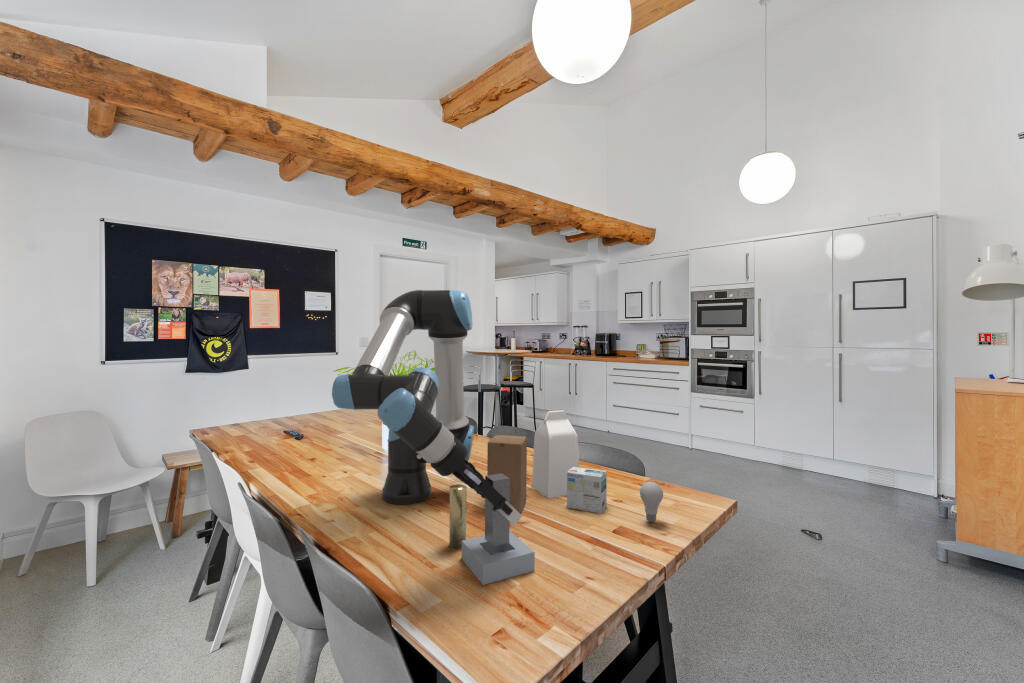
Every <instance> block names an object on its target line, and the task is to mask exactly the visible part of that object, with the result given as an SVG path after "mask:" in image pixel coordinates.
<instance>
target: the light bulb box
mask: <svg viewBox="0 0 1024 683" xmlns="http://www.w3.org/2000/svg"><path fill="white" fill-rule="evenodd" d="M607 501H608V500H607V470H601V469H595V468H594V469H593V468H583V467H579V468H578V467H572V468H571V469H570V470H569V471H568V472H567V495H566V508H567V509H575V510H579V511H585V512H591V513H597V514H602V513H603V512H604V510H605V509H606V507H607Z"/></svg>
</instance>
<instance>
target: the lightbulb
mask: <svg viewBox="0 0 1024 683" xmlns="http://www.w3.org/2000/svg"><path fill="white" fill-rule="evenodd" d="M639 496H640V499H641V501H642V503H643V505H644V512H645V518H646V521H648V522H649V524H651V523H655V522H656V521H657V514H658V508H659V506H660V504H661V502H662V501H663V498H664V491H663V487H661V486H660V484H658V483H657V482H654V481H647V482H646V481H645V482H644V483H643V484H642V485H641V486H640V488H639Z"/></svg>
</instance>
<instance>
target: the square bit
mask: <svg viewBox="0 0 1024 683" xmlns="http://www.w3.org/2000/svg"><path fill="white" fill-rule="evenodd" d="M484 479H485V480H486V481H487V482H488V483H489V484H490V485H491V486H492V487H493V488H494V489H496V490H497V491H498V492H499V493H500V494H501V495H502V496H503V497H505V498H506V501H507V502H508V503H510V478H508V477H507V476H505V475H503V474H502V473H501V474H494V475H485V477H484ZM493 507H494V505H492V504H491V503H490V502H489V501H488V500H487V499H486V498H485V499H484V536H485V540H486V541H487V542H488V543H489V544H490V545H491V546H492V547H494V546H498V545H502V544H507V543H509V531H510V522H509V521H508V520H507V519H506V518H505V517H504V516H503V515H502V514H501V513H500V512H499V511H498V510H496V511H494V510H492V509H493Z"/></svg>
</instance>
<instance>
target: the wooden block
mask: <svg viewBox="0 0 1024 683" xmlns="http://www.w3.org/2000/svg"><path fill="white" fill-rule="evenodd" d="M527 443H528V438H527V436H524V435H507V434H495V435H494V436H493V437H491V439H490V440H488V442H487V466H486V468H487V475H494V474H501V473H502V474H503V475H505V476H507V477H508V478H510V504H511V505H512V506H513V507H514V508H515V509H516V510H517V511H518V512H519V513H520V514H521V512H522V510H523V509H524V506H525V504H526V502H527V479H528V478H527V471H528V470H527V469H528V466H527V463H528V462H527V458H528V457H527V452H528V451H527V450H528V447H527V446H528V444H527ZM487 475H486V476H487Z"/></svg>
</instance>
